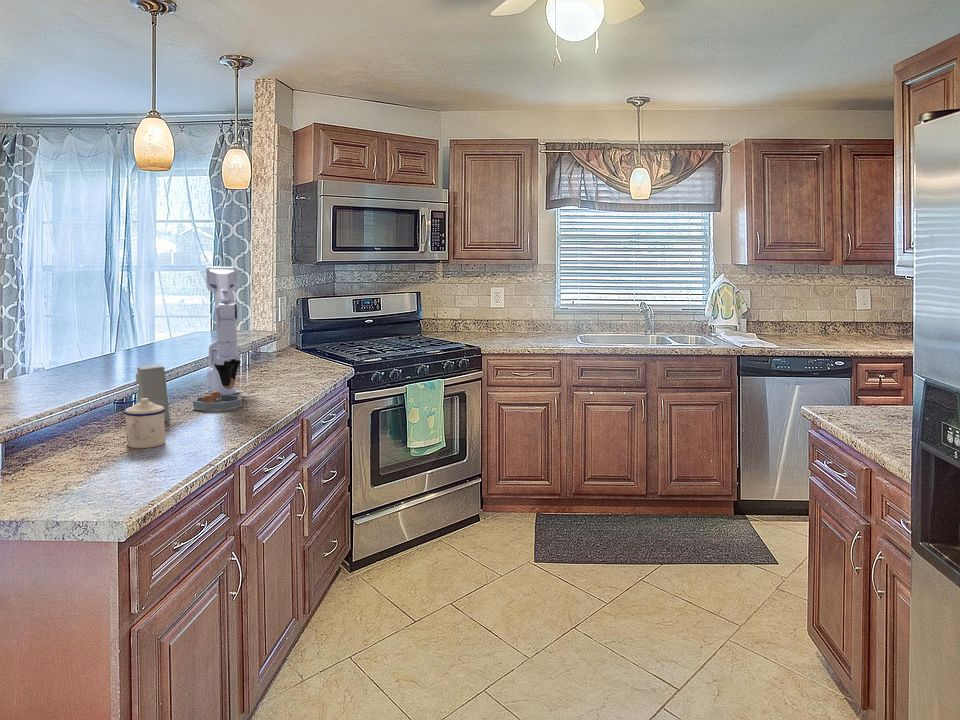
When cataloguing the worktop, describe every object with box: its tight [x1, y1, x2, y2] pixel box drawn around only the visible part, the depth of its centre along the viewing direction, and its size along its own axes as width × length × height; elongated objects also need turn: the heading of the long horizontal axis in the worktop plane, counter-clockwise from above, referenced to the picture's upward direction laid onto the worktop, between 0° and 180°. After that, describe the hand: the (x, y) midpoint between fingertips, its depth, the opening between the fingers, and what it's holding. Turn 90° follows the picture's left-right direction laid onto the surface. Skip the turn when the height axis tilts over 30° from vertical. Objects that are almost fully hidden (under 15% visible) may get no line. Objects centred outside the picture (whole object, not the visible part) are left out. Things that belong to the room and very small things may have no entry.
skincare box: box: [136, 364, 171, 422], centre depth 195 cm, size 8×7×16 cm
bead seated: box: [202, 393, 215, 403], centre depth 212 cm, size 4×4×4 cm
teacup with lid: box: [123, 398, 166, 449], centre depth 168 cm, size 12×9×12 cm
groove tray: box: [192, 394, 243, 412], centre depth 216 cm, size 14×14×3 cm
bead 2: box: [223, 378, 236, 389], centre depth 215 cm, size 4×4×4 cm
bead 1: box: [209, 391, 222, 398], centre depth 218 cm, size 4×4×4 cm
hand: (228, 384), depth 215 cm, fingers closed on bead 2, 4 cm apart
